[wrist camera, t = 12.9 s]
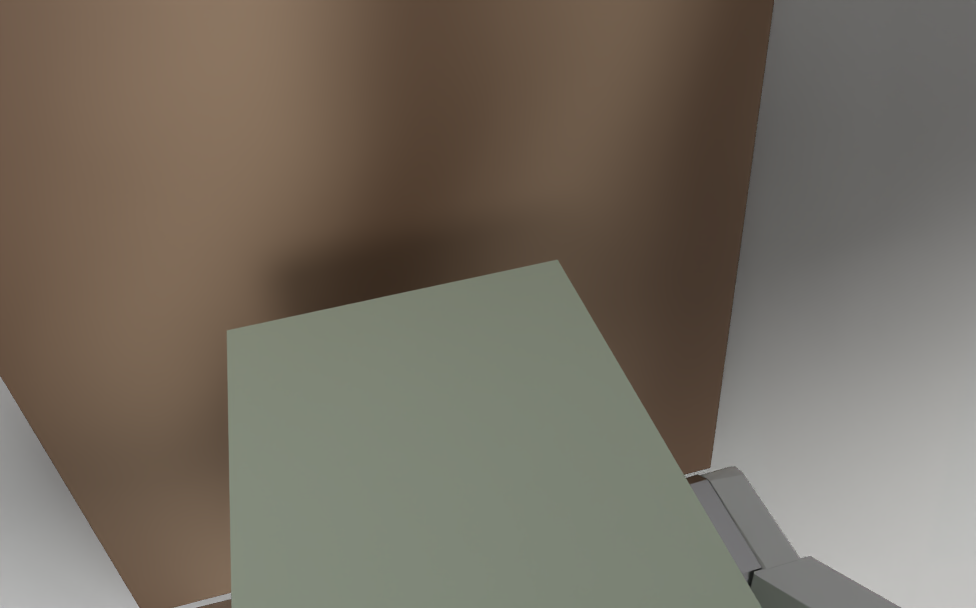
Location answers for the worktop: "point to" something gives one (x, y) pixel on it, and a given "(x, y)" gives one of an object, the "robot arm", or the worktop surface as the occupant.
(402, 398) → the sage block
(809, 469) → the worktop surface
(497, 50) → the walnut pad
